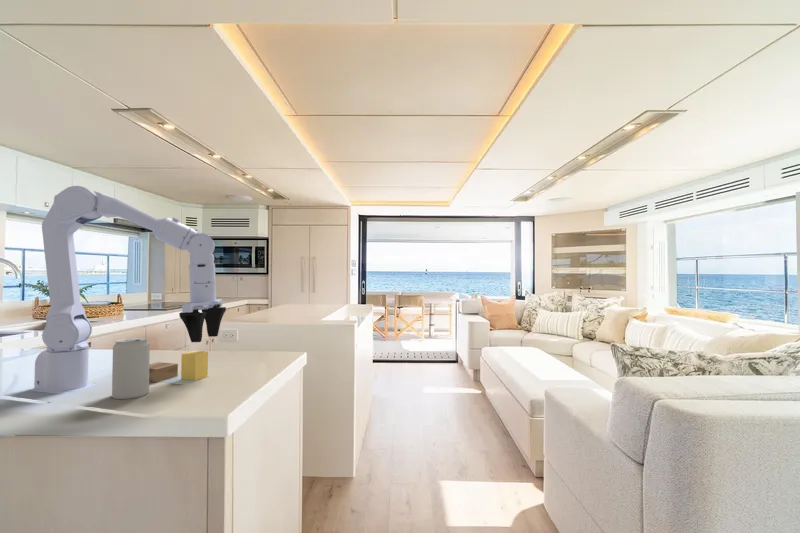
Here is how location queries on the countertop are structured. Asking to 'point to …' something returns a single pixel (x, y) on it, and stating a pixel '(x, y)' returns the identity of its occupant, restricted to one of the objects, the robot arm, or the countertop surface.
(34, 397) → the countertop surface
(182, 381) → the plate
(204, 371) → the ochre brick
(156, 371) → the walnut base brick
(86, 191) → the robot arm
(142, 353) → the beverage can
